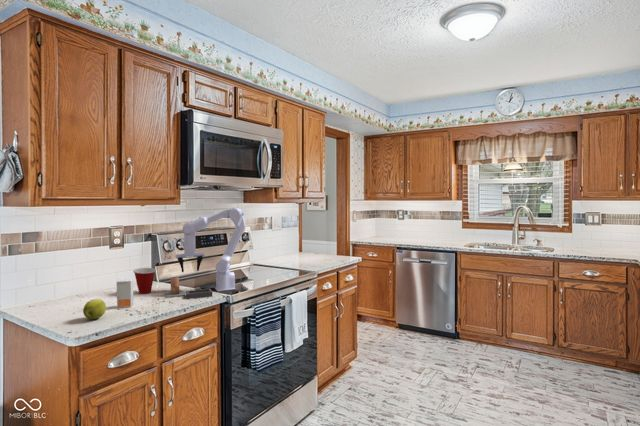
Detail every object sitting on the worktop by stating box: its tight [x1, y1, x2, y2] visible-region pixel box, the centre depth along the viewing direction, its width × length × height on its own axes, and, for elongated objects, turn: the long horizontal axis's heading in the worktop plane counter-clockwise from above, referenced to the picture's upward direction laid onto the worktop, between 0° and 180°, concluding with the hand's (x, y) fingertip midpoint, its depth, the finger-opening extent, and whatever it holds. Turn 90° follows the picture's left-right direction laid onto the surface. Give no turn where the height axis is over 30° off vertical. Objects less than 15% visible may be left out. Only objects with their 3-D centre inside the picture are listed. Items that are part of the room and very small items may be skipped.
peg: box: [169, 276, 180, 295], centre depth 206 cm, size 4×4×8 cm
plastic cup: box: [133, 267, 157, 295], centre depth 211 cm, size 11×11×12 cm
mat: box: [164, 290, 187, 299], centre depth 206 cm, size 9×9×1 cm
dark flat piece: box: [185, 286, 213, 300], centre depth 204 cm, size 12×9×3 cm
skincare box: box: [116, 278, 134, 309], centre depth 185 cm, size 6×4×12 cm
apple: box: [82, 298, 107, 320], centre depth 167 cm, size 8×9×8 cm
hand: (190, 271), depth 217 cm, fingers open, 7 cm apart
